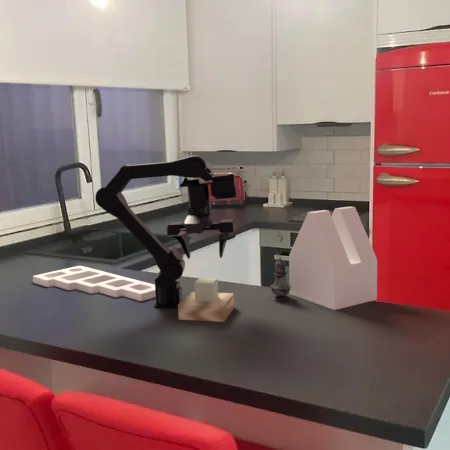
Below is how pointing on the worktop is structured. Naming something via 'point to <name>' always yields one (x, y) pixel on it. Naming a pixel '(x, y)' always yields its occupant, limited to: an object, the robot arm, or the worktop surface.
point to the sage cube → (206, 289)
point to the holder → (96, 283)
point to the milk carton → (333, 260)
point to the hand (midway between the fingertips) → (205, 257)
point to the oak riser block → (206, 308)
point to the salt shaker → (280, 283)
